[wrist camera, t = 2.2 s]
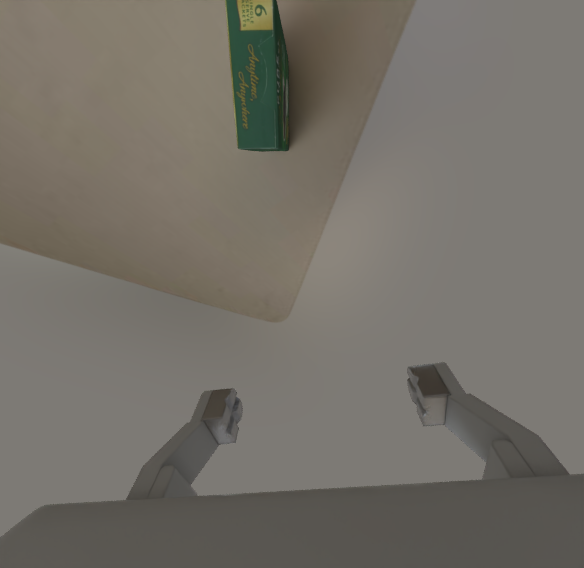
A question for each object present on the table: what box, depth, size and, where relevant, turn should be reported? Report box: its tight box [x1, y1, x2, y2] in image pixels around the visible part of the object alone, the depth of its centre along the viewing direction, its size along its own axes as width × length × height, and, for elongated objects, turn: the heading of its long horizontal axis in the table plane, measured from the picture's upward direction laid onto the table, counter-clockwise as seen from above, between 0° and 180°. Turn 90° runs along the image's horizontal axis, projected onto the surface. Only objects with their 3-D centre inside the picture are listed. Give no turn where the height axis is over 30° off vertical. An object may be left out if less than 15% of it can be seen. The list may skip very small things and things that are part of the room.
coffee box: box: [225, 0, 289, 151], centre depth 20 cm, size 8×3×13 cm, turn 1°
